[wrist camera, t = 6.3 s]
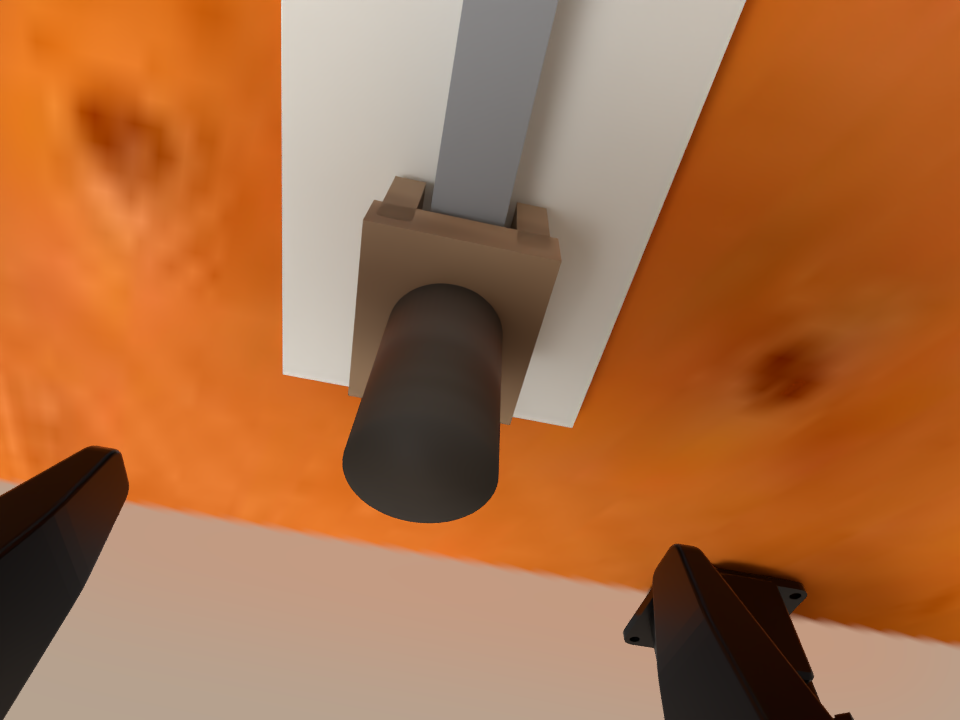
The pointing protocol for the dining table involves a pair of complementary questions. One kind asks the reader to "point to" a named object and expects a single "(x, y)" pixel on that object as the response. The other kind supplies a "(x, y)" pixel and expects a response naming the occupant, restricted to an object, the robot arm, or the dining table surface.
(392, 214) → the carriage
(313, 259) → the plate
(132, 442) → the dining table surface
